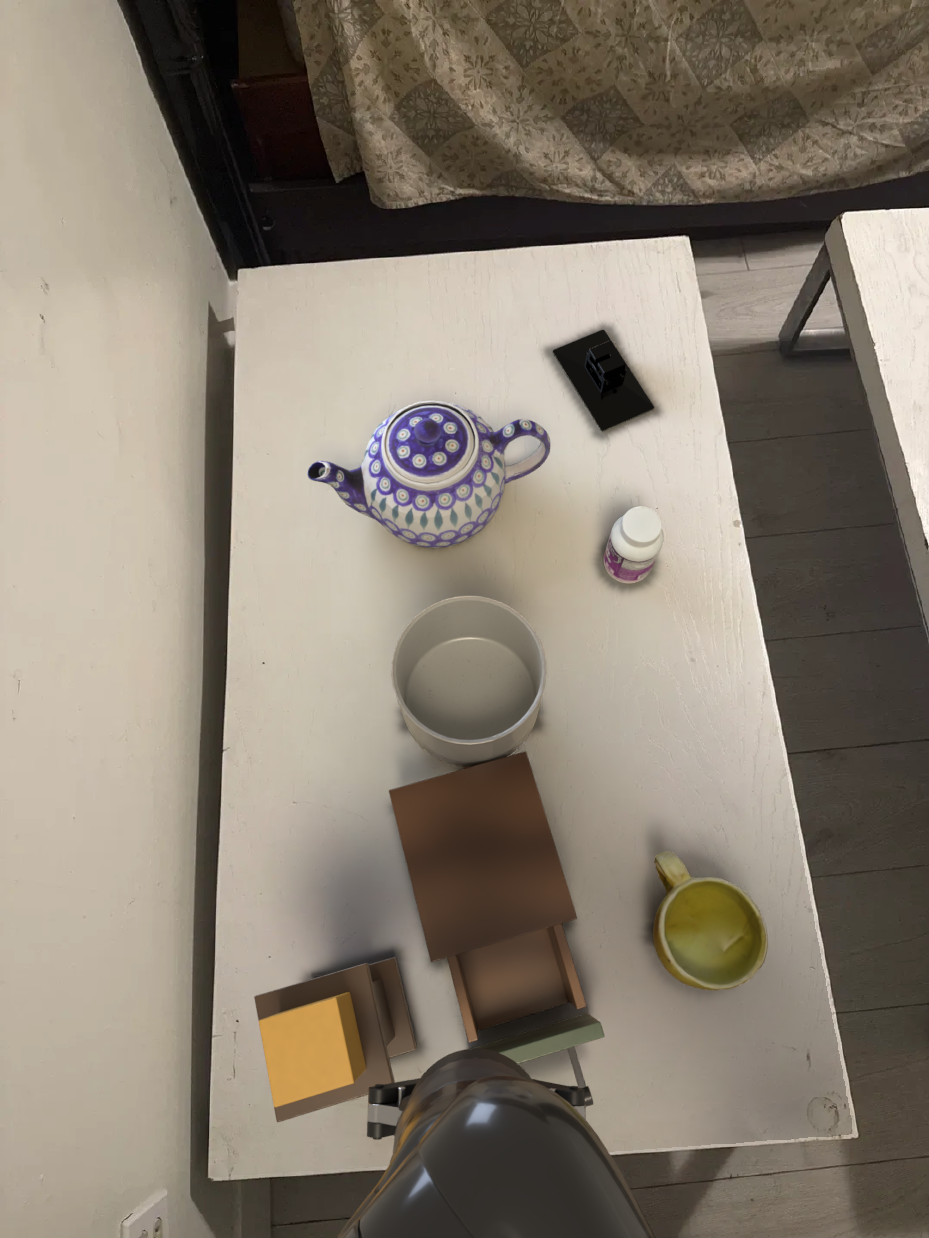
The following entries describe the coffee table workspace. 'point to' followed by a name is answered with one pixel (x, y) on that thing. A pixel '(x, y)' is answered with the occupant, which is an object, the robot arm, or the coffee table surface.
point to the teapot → (433, 472)
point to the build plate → (603, 380)
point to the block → (312, 1049)
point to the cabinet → (480, 856)
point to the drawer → (524, 996)
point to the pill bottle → (634, 545)
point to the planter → (469, 679)
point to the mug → (707, 929)
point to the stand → (376, 1020)
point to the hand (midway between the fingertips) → (477, 1086)
